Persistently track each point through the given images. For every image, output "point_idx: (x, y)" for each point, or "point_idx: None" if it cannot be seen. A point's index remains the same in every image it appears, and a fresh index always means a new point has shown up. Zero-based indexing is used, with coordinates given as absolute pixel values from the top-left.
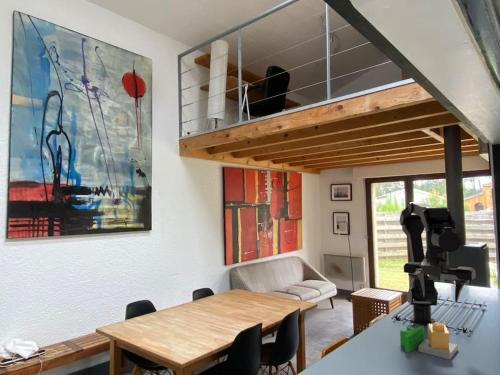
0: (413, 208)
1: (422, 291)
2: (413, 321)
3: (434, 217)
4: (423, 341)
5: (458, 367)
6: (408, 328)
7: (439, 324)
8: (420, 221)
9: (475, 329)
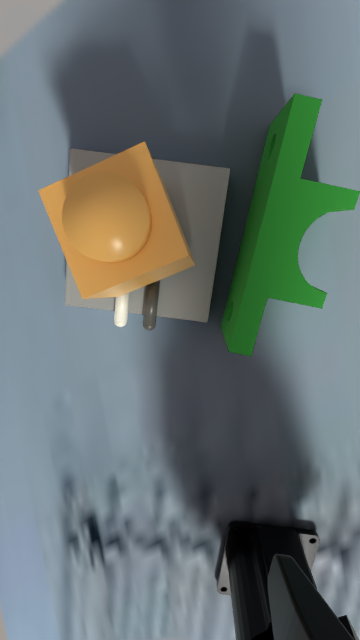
0: None
1: (301, 614)
2: (302, 531)
3: None
4: (216, 253)
5: (29, 78)
6: (312, 287)
7: (97, 230)
8: None
9: (59, 565)
